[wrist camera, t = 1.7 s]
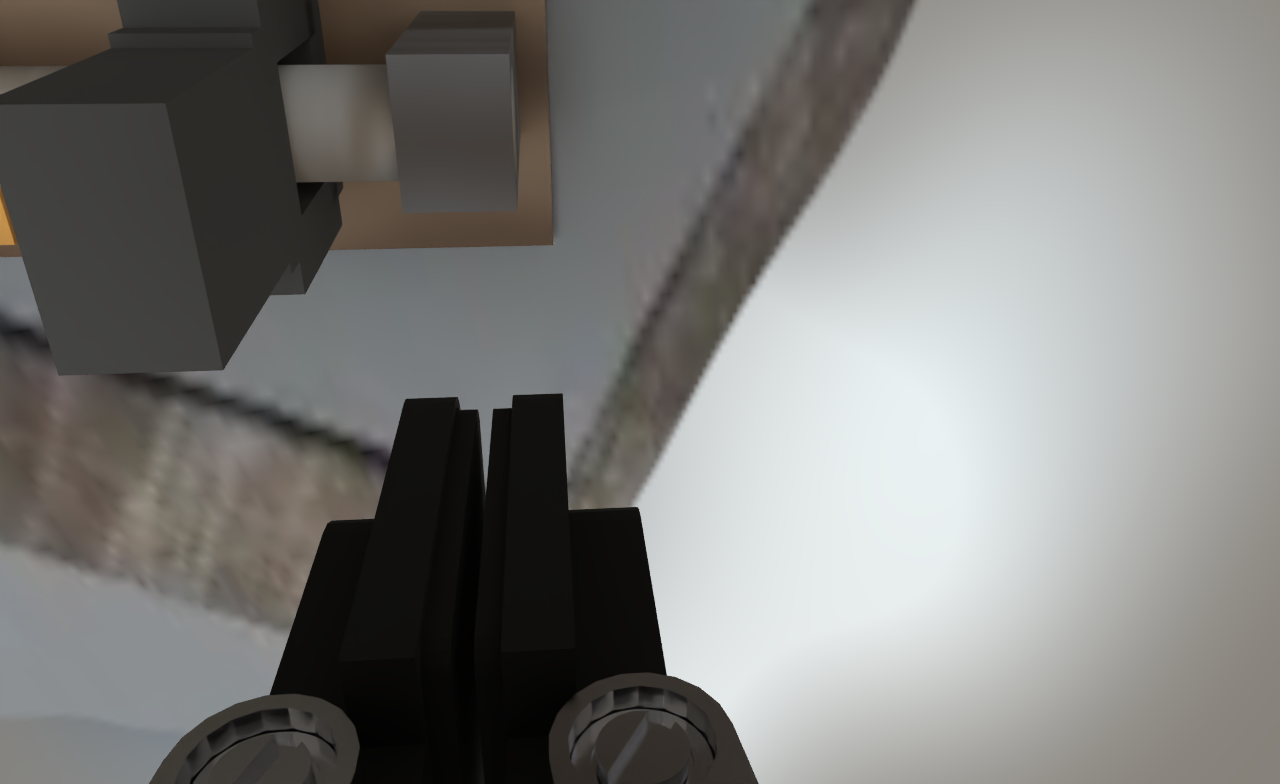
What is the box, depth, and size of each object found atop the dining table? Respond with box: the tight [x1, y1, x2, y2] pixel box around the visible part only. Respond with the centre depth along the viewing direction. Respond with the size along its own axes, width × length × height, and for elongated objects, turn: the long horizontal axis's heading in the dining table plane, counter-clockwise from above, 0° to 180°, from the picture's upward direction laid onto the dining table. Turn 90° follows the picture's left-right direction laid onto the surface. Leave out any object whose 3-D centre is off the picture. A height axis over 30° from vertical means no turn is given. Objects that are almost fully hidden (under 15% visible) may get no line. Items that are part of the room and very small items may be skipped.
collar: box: [0, 0, 344, 375], centre depth 23 cm, size 7×3×13 cm, turn 179°
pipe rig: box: [0, 0, 553, 257], centre depth 28 cm, size 12×30×10 cm, turn 89°
